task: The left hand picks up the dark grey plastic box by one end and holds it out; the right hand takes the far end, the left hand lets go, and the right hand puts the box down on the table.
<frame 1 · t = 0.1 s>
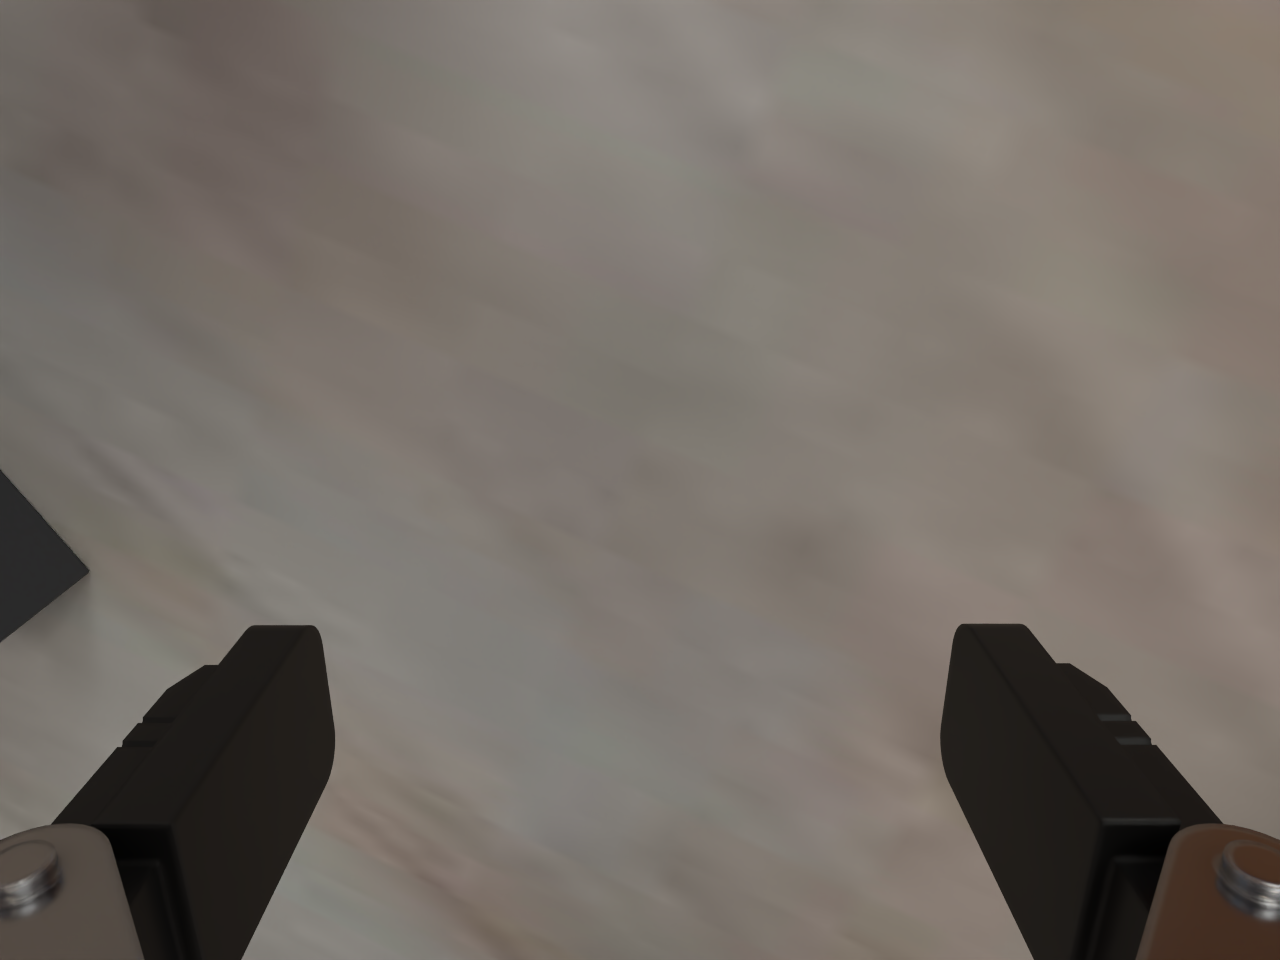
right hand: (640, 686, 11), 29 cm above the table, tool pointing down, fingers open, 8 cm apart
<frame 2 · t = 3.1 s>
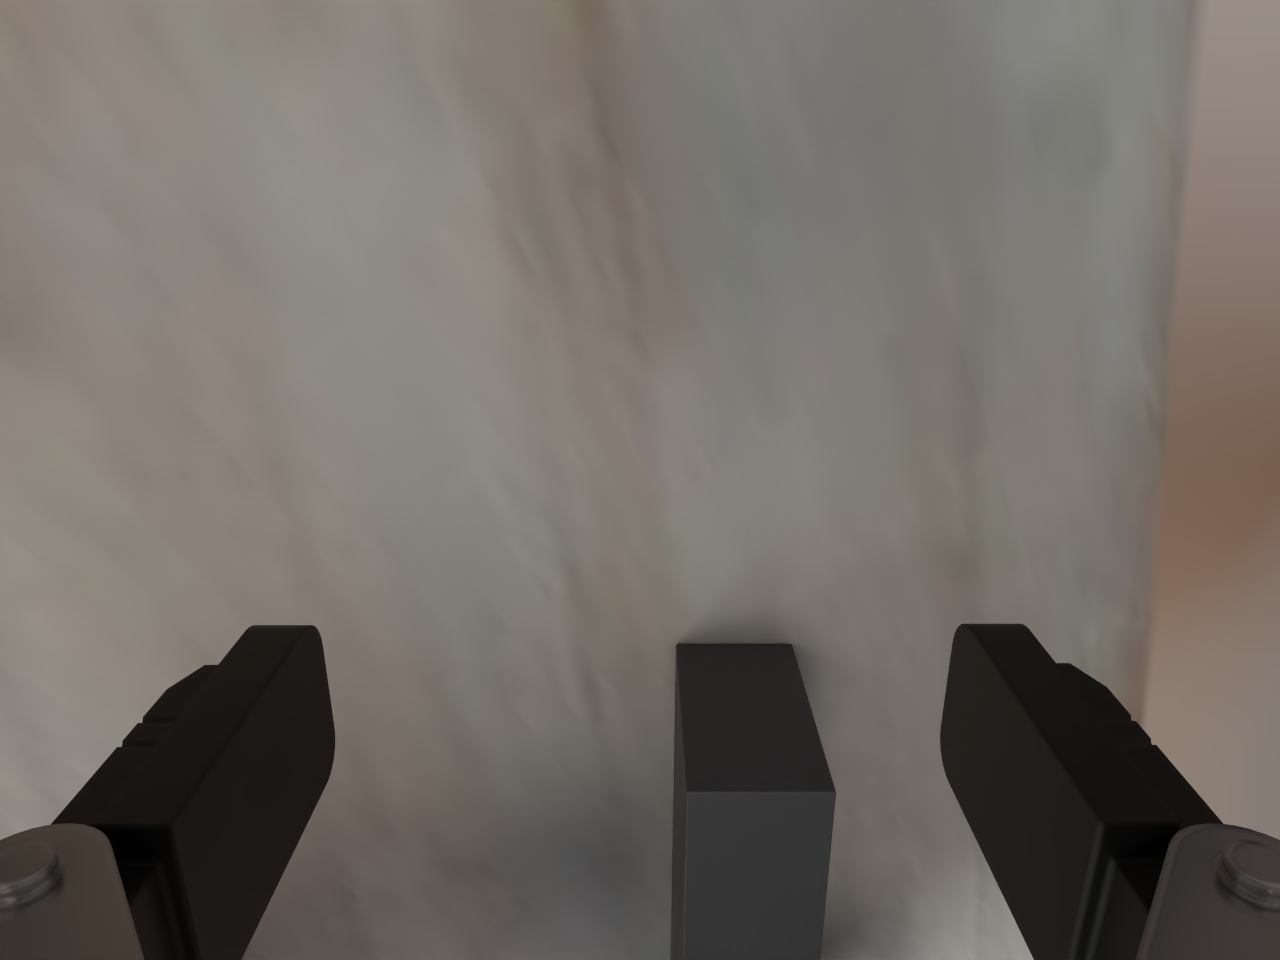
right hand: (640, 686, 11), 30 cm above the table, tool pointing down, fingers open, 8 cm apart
box: (725, 836, 50), on the table, touching left hand
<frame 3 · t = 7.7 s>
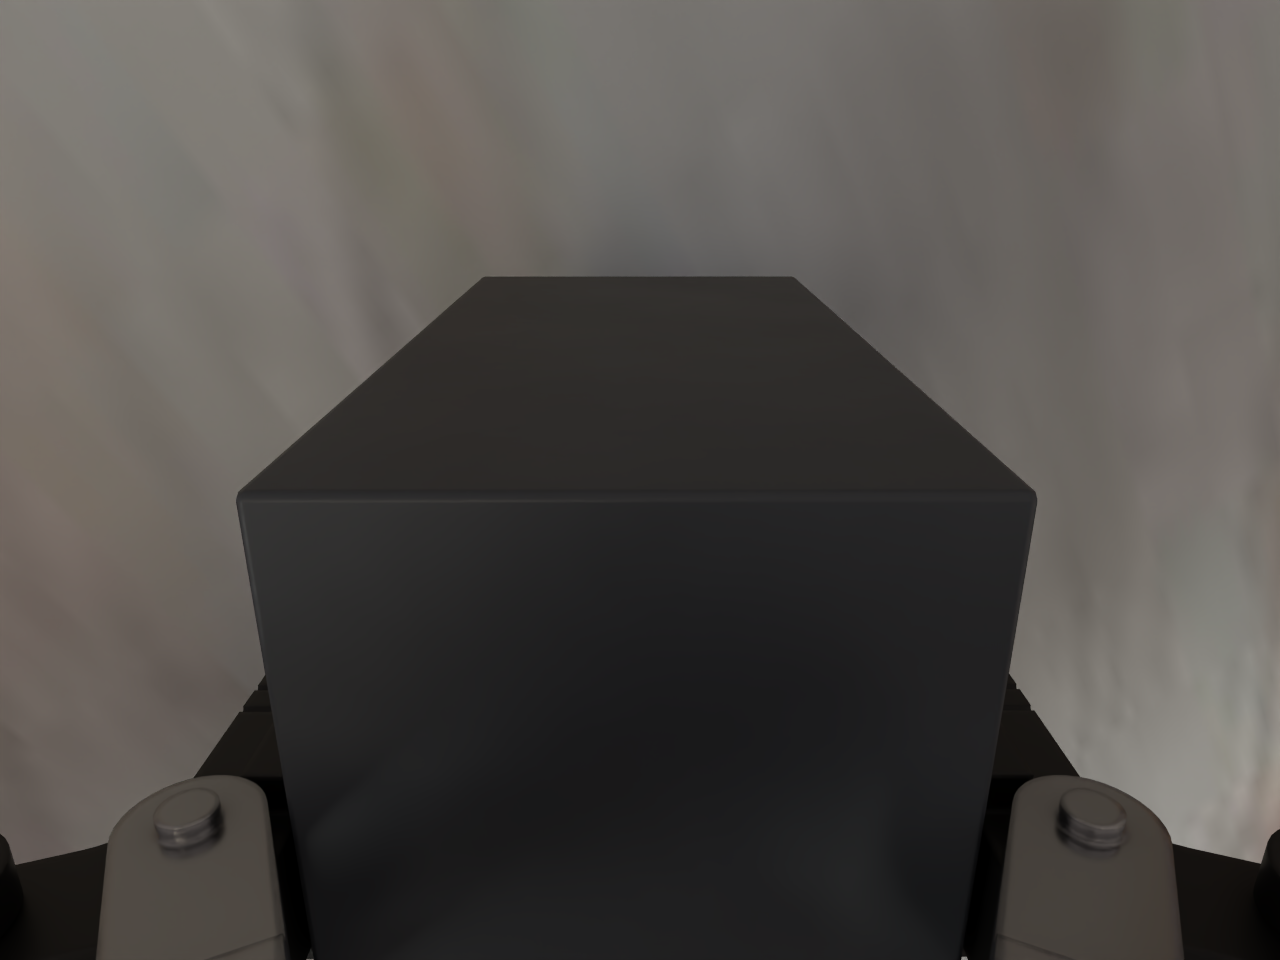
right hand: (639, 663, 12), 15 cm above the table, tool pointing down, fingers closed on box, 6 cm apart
box: (638, 804, 21), point 8 cm above the table, touching right hand, left hand
when the right hand's fingers open (8 cm above the table, at t = 15.5 s): box drops 2 cm, on the table.
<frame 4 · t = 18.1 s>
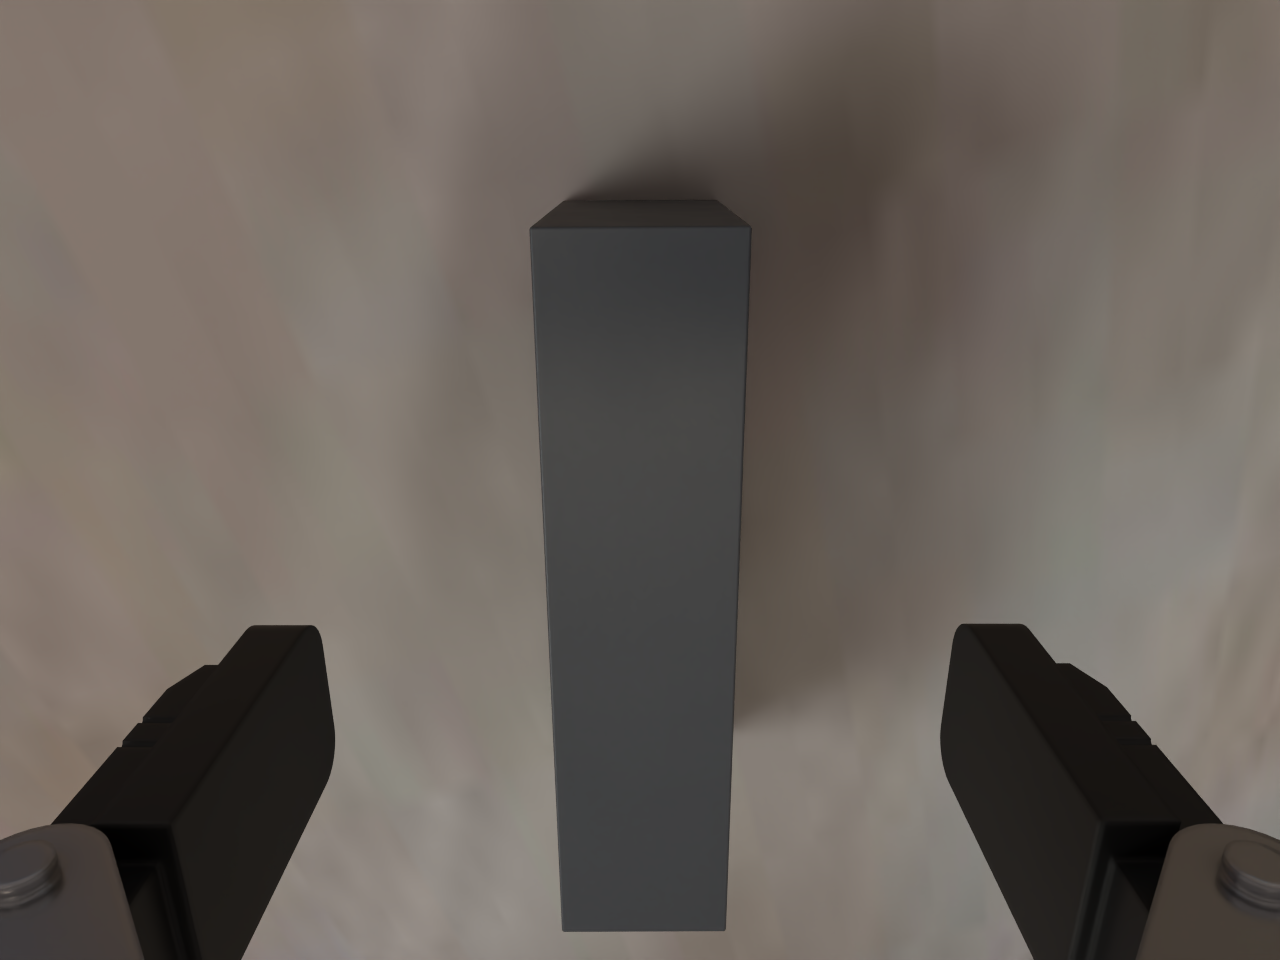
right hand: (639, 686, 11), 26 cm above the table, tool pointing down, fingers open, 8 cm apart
box: (641, 500, 39), on the table
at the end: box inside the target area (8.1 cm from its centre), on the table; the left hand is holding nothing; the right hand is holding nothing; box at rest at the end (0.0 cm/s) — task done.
